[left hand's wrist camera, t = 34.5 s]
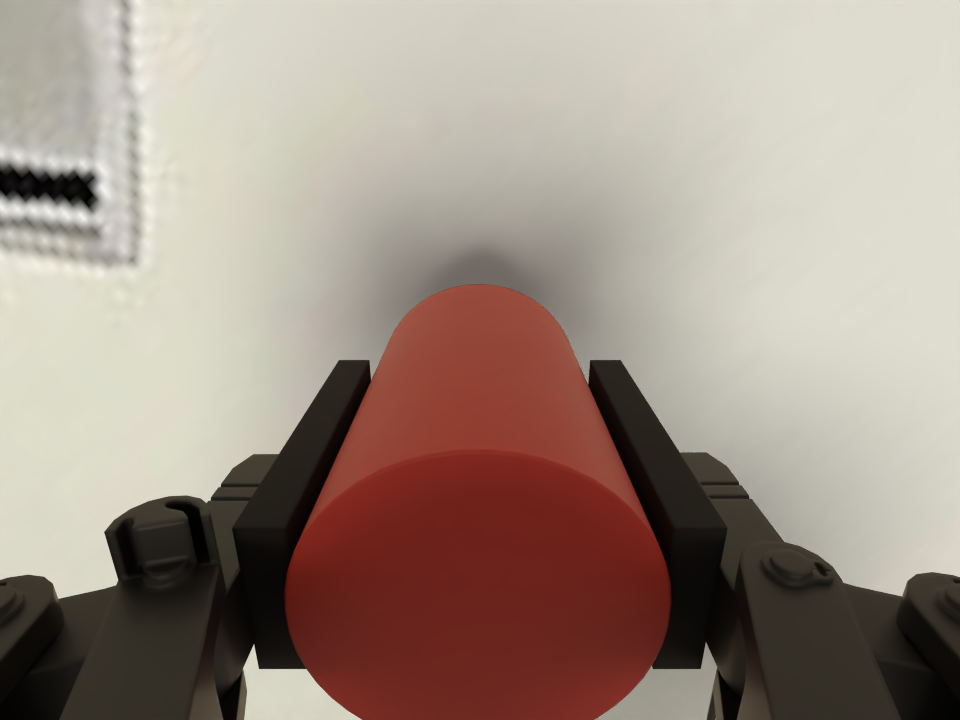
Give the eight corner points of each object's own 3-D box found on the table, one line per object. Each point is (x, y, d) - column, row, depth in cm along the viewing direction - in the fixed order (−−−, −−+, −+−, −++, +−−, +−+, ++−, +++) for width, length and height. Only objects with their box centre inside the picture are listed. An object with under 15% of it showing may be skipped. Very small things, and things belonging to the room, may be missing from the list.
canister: (457, 490, 18) (438, 795, 9) (343, 355, 16) (200, 581, 8) (610, 398, 16) (739, 654, 8) (504, 243, 15) (535, 371, 7)
